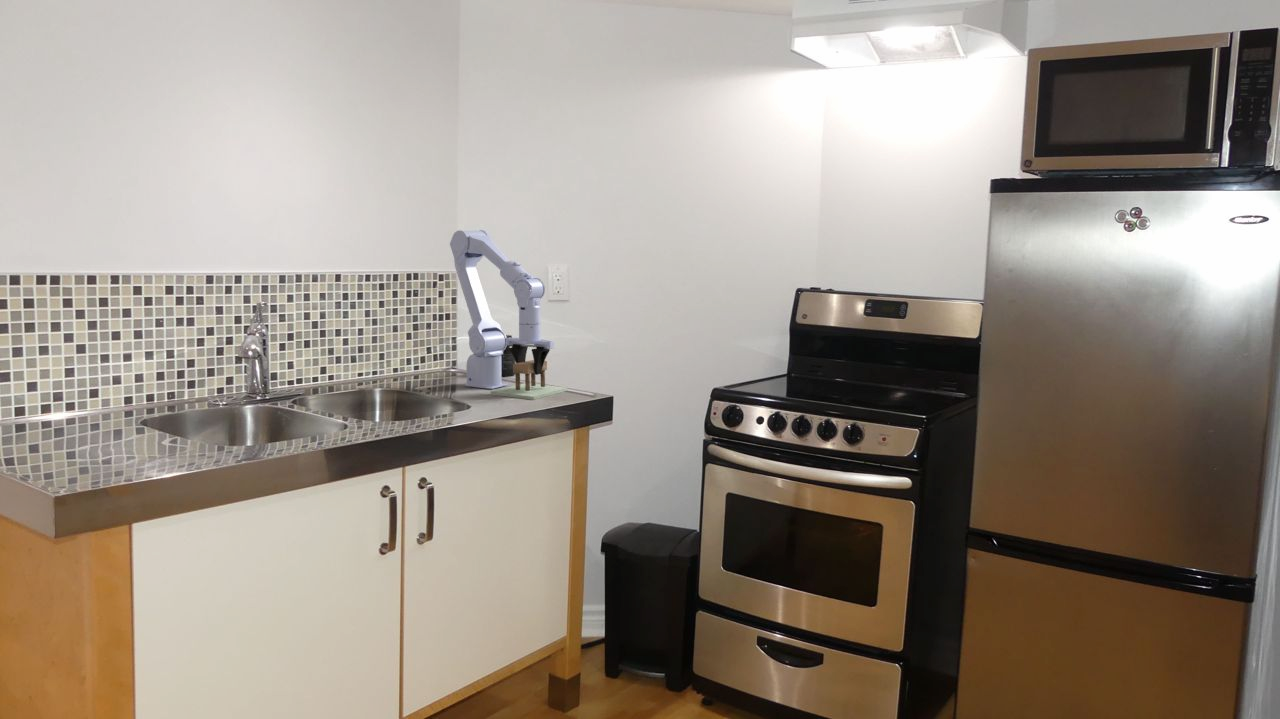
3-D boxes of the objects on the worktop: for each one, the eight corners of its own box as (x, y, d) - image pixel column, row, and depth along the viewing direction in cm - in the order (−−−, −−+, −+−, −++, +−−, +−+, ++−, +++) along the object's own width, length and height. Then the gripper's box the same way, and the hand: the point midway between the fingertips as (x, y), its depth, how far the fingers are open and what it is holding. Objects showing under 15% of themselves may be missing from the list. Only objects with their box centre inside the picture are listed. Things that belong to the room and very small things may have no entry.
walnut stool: (532, 385, 268) (532, 360, 267) (547, 386, 266) (546, 361, 265) (513, 389, 260) (513, 364, 259) (528, 391, 258) (527, 365, 257)
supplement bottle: (517, 373, 294) (517, 334, 293) (512, 377, 288) (512, 337, 286) (495, 372, 295) (495, 333, 293) (490, 376, 288) (489, 336, 287)
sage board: (490, 394, 260) (490, 391, 260) (525, 385, 274) (525, 382, 274) (533, 399, 253) (533, 396, 253) (566, 390, 267) (566, 387, 267)
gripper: (498, 323, 260) (499, 372, 262) (543, 326, 253) (543, 377, 255) (514, 320, 266) (514, 369, 268) (558, 324, 259) (558, 374, 261)
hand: (529, 373), depth 262 cm, fingers closed on walnut stool, 5 cm apart
